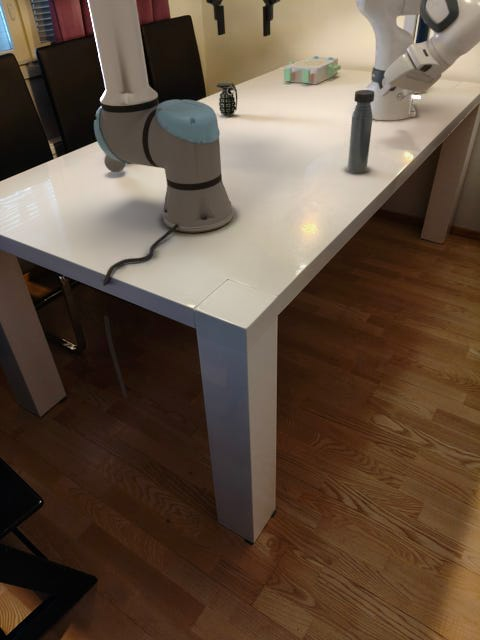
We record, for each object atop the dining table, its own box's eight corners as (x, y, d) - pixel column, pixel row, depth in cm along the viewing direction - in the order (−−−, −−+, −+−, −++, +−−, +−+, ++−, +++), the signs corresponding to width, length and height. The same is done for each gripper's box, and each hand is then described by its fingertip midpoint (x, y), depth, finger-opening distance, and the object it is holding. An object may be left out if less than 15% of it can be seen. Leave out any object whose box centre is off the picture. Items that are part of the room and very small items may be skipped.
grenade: (217, 117, 168) (214, 86, 162) (221, 112, 172) (219, 82, 166) (235, 117, 166) (233, 86, 160) (239, 113, 171) (238, 82, 165)
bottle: (349, 165, 127) (356, 91, 116) (368, 167, 126) (377, 91, 115) (345, 172, 124) (352, 96, 113) (364, 174, 122) (373, 97, 111)
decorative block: (306, 54, 217) (347, 57, 207) (305, 70, 221) (345, 73, 211) (275, 65, 201) (318, 69, 191) (275, 82, 205) (317, 87, 195)
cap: (356, 97, 117) (357, 89, 116) (375, 98, 115) (376, 90, 114) (352, 102, 114) (353, 94, 112) (372, 103, 112) (372, 94, 111)
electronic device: (396, 96, 178) (410, -2, 160) (386, 91, 184) (398, -4, 166) (427, 92, 181) (443, -5, 162) (416, 87, 186) (431, -6, 168)
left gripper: (294, -71, 114) (292, 33, 127) (203, -65, 124) (210, 31, 137) (281, -70, 109) (280, 38, 122) (187, -64, 119) (196, 36, 132)
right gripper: (443, 56, 136) (402, 91, 146) (408, 42, 122) (365, 82, 132) (453, 75, 135) (411, 109, 145) (419, 63, 121) (375, 102, 131)
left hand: (243, 35), depth 129 cm, fingers open, 13 cm apart
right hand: (389, 96), depth 138 cm, fingers open, 8 cm apart
